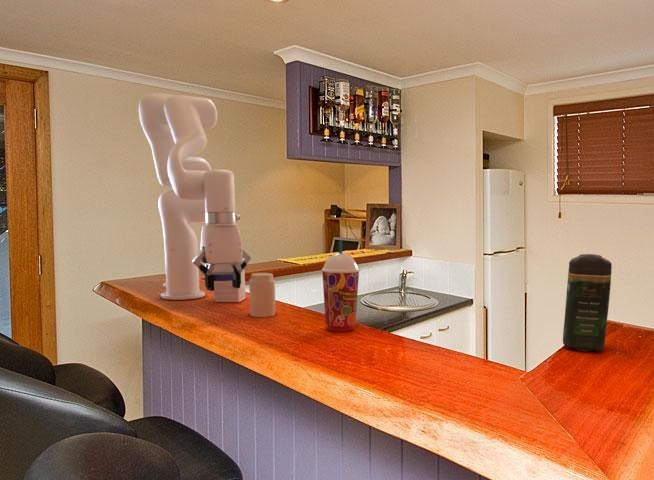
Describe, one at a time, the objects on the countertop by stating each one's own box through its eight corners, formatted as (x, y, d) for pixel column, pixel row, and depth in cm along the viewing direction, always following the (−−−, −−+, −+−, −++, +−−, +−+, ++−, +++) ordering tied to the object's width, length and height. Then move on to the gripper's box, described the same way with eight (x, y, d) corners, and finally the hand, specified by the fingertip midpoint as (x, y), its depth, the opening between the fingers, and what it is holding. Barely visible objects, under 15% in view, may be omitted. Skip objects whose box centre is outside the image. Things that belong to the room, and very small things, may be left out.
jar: (244, 314, 142) (243, 274, 140) (264, 311, 147) (263, 271, 145) (261, 318, 138) (260, 276, 136) (280, 314, 143) (280, 274, 141)
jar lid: (205, 279, 145) (205, 272, 145) (229, 277, 149) (229, 271, 149) (216, 281, 140) (216, 275, 140) (240, 279, 144) (240, 273, 144)
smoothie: (346, 335, 121) (346, 242, 117) (314, 330, 125) (314, 240, 122) (365, 327, 128) (366, 240, 124) (335, 323, 132) (335, 238, 129)
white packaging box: (246, 298, 166) (245, 255, 164) (238, 302, 158) (237, 258, 156) (222, 297, 166) (220, 255, 164) (213, 302, 159) (211, 258, 157)
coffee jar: (606, 354, 106) (614, 257, 103) (561, 350, 109) (568, 255, 106) (603, 343, 115) (611, 253, 112) (562, 339, 118) (569, 251, 115)
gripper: (244, 218, 151) (246, 284, 153) (182, 219, 140) (185, 290, 143) (258, 219, 145) (260, 287, 148) (194, 220, 134) (197, 294, 137)
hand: (223, 288), depth 145 cm, fingers closed on jar lid, 6 cm apart
